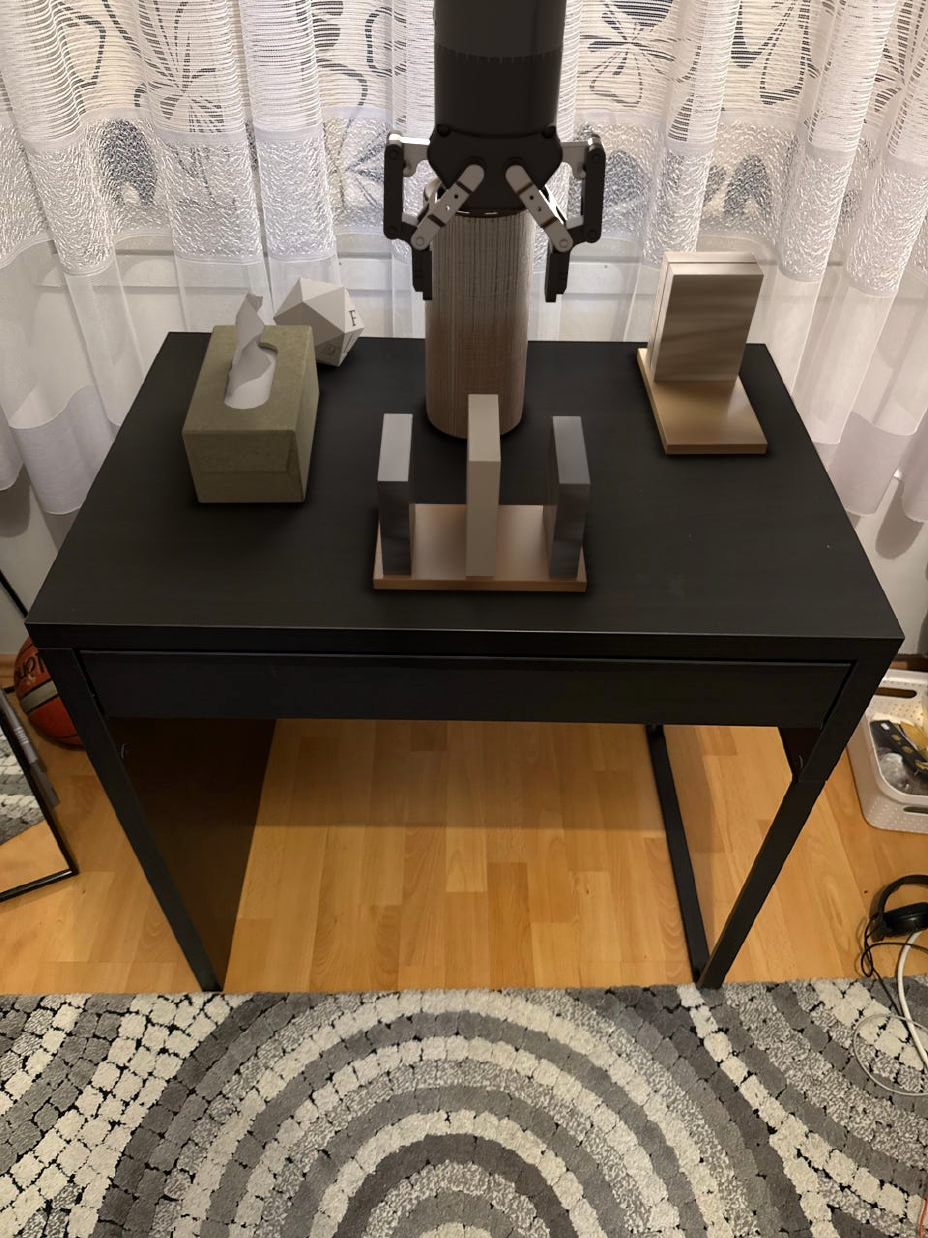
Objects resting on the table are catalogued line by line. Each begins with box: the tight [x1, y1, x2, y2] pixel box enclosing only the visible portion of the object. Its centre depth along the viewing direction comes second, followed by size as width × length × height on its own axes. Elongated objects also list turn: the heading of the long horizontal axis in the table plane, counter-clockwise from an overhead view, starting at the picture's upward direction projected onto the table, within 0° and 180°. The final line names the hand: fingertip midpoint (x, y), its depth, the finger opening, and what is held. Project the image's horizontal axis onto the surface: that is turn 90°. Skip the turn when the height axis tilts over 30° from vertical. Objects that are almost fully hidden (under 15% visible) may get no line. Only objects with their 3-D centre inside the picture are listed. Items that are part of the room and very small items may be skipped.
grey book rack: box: [372, 413, 592, 593], centre depth 78 cm, size 18×10×11 cm, turn 90°
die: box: [272, 277, 366, 367], centre depth 101 cm, size 8×9×10 cm
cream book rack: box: [636, 251, 769, 455], centre depth 94 cm, size 18×10×13 cm, turn 2°
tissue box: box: [181, 291, 320, 504], centre depth 87 cm, size 19×10×16 cm, turn 2°
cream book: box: [465, 394, 502, 576], centre depth 77 cm, size 2×9×12 cm, turn 0°
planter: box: [422, 176, 537, 440], centre depth 89 cm, size 10×10×23 cm
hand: (489, 296), depth 65 cm, fingers open, 8 cm apart
